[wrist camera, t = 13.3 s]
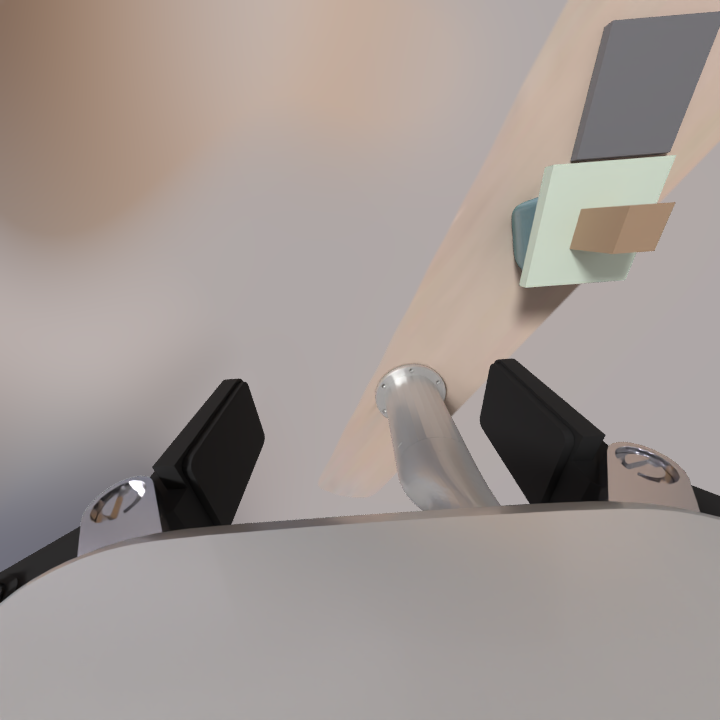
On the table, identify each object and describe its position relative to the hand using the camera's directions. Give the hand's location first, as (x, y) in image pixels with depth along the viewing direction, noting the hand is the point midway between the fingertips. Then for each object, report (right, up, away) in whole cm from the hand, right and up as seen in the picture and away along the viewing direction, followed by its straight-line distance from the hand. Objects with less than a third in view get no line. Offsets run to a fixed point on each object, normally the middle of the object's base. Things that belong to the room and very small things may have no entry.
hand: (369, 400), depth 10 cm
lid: (+23, +15, +17) cm, 32 cm away
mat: (+30, +31, +19) cm, 47 cm away
